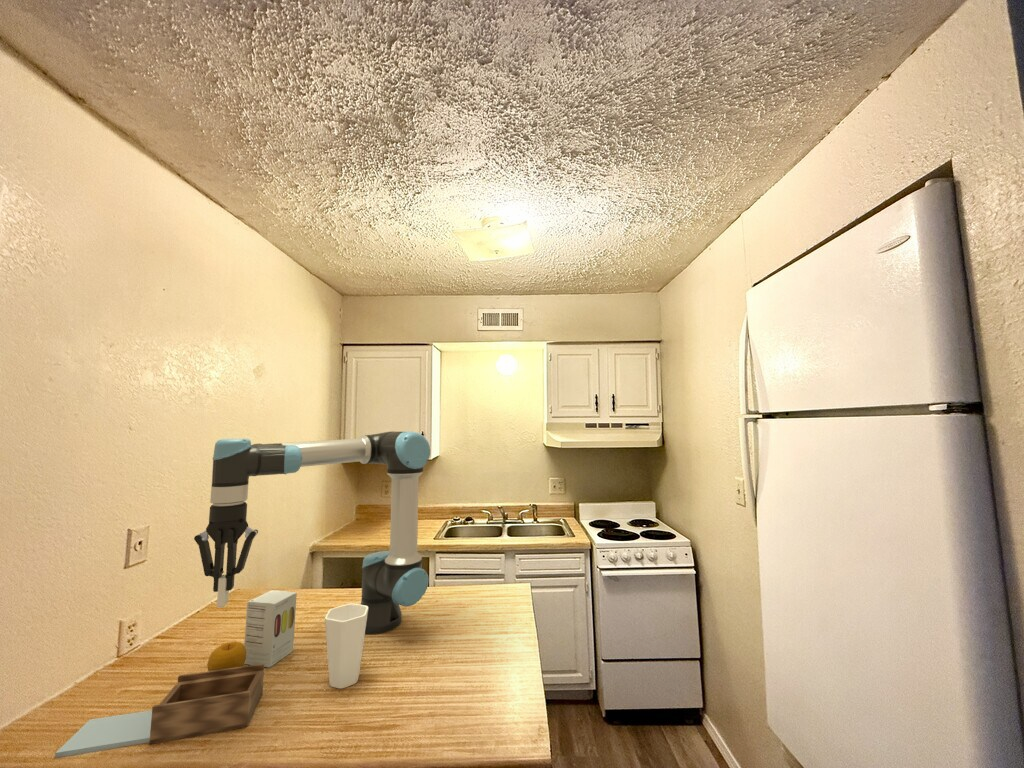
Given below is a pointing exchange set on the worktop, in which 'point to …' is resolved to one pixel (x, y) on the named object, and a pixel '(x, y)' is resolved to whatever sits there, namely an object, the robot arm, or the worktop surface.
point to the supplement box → (270, 627)
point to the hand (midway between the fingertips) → (222, 604)
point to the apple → (227, 656)
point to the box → (208, 703)
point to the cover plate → (109, 734)
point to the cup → (345, 643)
